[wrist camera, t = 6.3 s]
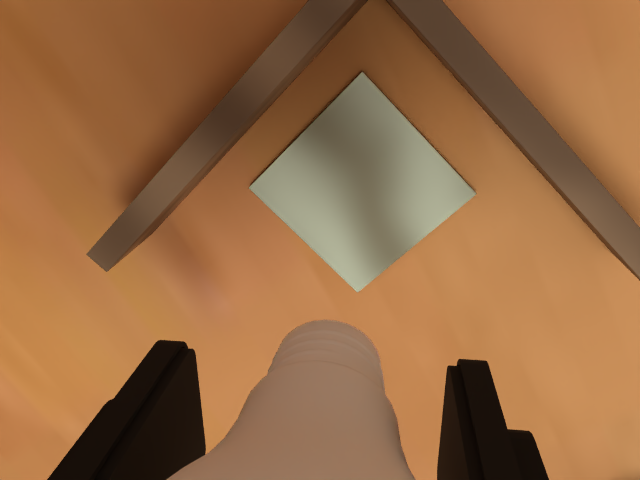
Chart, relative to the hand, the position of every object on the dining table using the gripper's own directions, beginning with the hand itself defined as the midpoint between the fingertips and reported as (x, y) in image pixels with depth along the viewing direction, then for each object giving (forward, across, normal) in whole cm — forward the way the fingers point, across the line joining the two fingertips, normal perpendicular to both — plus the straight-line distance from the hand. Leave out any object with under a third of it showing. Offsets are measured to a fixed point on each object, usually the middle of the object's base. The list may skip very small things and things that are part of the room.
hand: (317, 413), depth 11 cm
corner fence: (+17, 0, +1) cm, 17 cm away
